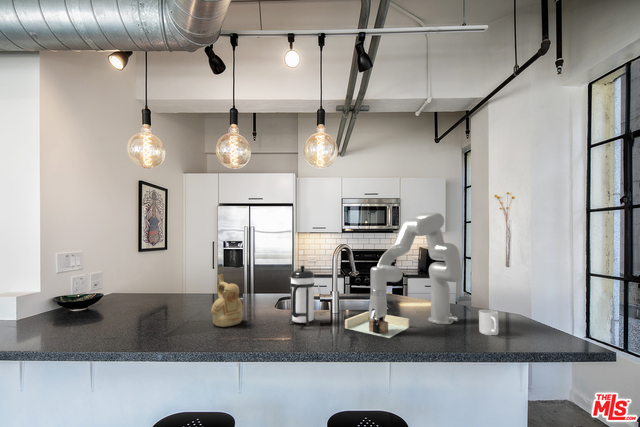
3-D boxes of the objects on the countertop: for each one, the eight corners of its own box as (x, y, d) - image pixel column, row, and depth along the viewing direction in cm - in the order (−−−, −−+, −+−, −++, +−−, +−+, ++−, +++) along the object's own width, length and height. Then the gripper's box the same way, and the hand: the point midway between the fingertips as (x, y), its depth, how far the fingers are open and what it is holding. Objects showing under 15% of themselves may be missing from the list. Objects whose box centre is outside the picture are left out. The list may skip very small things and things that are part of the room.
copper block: (388, 332, 161) (388, 321, 161) (384, 334, 158) (384, 323, 158) (373, 329, 166) (373, 319, 166) (369, 331, 162) (369, 320, 163)
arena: (409, 328, 170) (409, 318, 170) (389, 339, 153) (389, 328, 153) (367, 319, 185) (367, 311, 185) (344, 329, 168) (344, 319, 168)
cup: (493, 330, 166) (493, 309, 167) (505, 338, 154) (505, 315, 155) (476, 330, 167) (476, 309, 167) (487, 338, 155) (486, 315, 155)
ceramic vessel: (219, 331, 163) (220, 278, 164) (203, 322, 178) (204, 274, 179) (250, 324, 175) (251, 275, 176) (233, 317, 189) (233, 272, 190)
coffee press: (282, 320, 182) (282, 264, 183) (310, 317, 188) (310, 263, 190) (292, 329, 166) (293, 268, 167) (322, 326, 172) (322, 266, 174)
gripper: (379, 289, 171) (380, 326, 170) (362, 294, 158) (362, 334, 157) (393, 291, 167) (393, 329, 166) (376, 296, 154) (377, 337, 153)
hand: (378, 331), depth 162 cm, fingers closed on copper block, 4 cm apart
